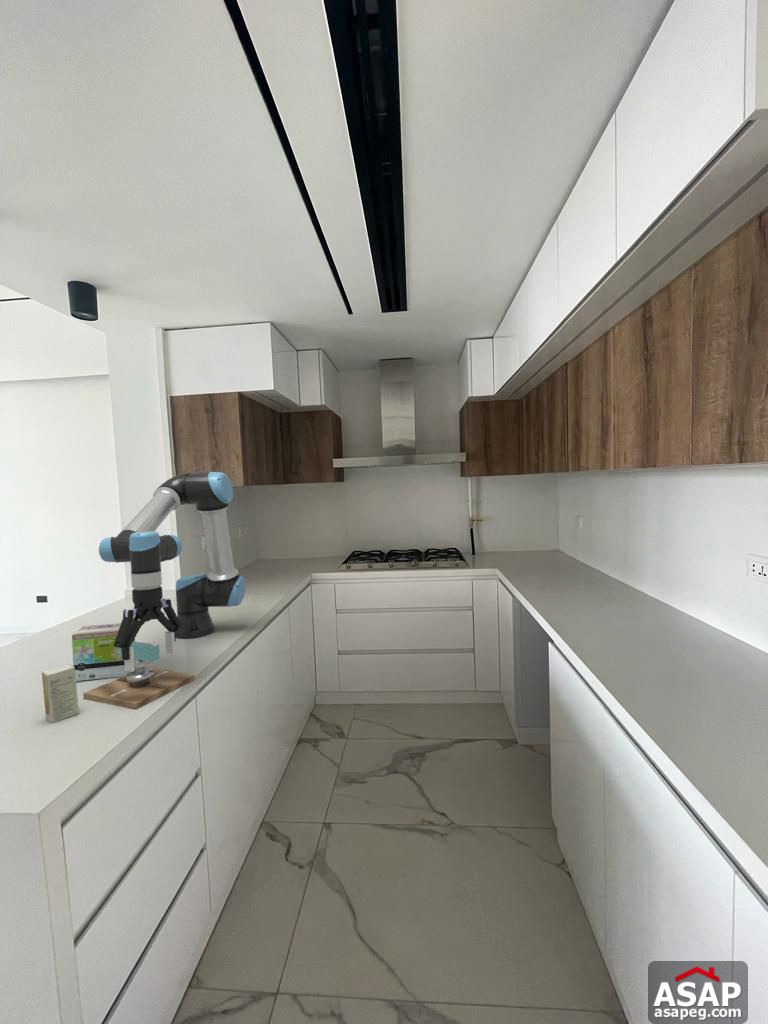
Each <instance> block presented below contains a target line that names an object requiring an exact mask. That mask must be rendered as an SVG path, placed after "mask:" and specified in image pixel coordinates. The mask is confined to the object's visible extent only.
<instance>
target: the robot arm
mask: <svg viewBox="0 0 768 1024" xmlns="http://www.w3.org/2000/svg"><path fill="white" fill-rule="evenodd" d="M233 488H234V487H233V484H232V482H231V479H230V478H229V476H228V475H227V474H225V473H224V472H221V471H218V472H217V471H216V472H215V471H202V472H183V473H179V474H177V475H175V476H173V477H171V478H169V479H167V480H165V481H164V482H163V483H161V484H160V485H159V486H158V487H157V488H156V489H155V490H154V492H153V493H152V498H151V499H150V500H149V501H148V502H147V503H146V505H144V507H142V509H141V510H139V512H137V514H136V515H135V516H134V517H133V518H132V519H131V520H130V521H129V523H128V524H127V525H126V526H125V527H124V528H123V529H122V530H121V531H120V533H118V535H116V536H110V537H104V538H103V539H102V540H101V541H100V543H99V545H98V554H99V556H100V558H101V560H102V561H104V562H106V563H117V564H118V563H130V576H131V577H130V578H131V587H132V588H133V589H132V590H131V594H132V597H131V598H132V602H133V608H131V609H124V610H123V612H122V614H123V615H122V620H121V625H120V628H119V631H118V634H117V637H116V639H115V642H114V647H118V648H121V650H122V659H123V660H124V663H125V671H130V672H133V671H135V667H134V652H133V647H130V646H131V644H132V642H133V640H134V639H135V640H136V637H137V636H138V633H139V631H140V629H141V627H142V626H143V625H144V624H145V623H148V622H150V621H151V620H157V621H158V622H159V623H160V624H161V625H162V626H163V627H164V628H165V629H166V631H165V634H164V636H165V639H164V640H165V654H166V655H172V656H173V655H175V654H176V647H175V645H176V644H175V643H176V641H177V640H176V639H177V638H178V639H193V638H200V636H201V637H204V636H207V634H208V635H209V633H210V634H212V633H214V631H215V624H214V622H213V620H212V617H211V614H210V612H209V611H210V610H209V608H210V607H211V608H212V607H213V608H215V607H216V608H218V607H220V608H223V607H228V608H230V607H236V606H239V605H241V604H242V602H243V600H244V598H245V594H246V588H247V584H246V583H247V582H246V581H247V580H246V578H245V577H244V576H242V575H240V572H239V570H238V569H237V568H235V566H234V560H233V552H232V545H231V538H230V533H229V524H228V517H227V510H228V508H229V507H230V504H231V502H232V501H233V498H234V495H233V494H234V489H233ZM182 505H195V507H196V511H197V512H198V513H200V514H201V516H202V517H201V518H202V524H203V529H204V536H205V543H206V550H207V555H208V559H209V560H208V561H209V567H210V572H209V573H208V574H207V573H204V572H203V573H196V574H191V575H186V576H183V577H180V578H178V579H176V582H175V589H174V590H175V597H176V598H175V599H176V601H175V602H176V612H175V610H174V608H173V605H172V600H171V599H170V598H169V599H167V598H163V597H164V596H163V587H162V584H163V580H162V577H163V576H162V564H161V563H162V562H165V561H171V560H173V559H175V558H177V557H179V556H180V555H181V553H182V551H183V543H182V541H181V538H179V537H178V536H177V535H174V534H163V535H160V534H159V532H158V531H156V530H157V529H158V527H159V526H161V524H162V523H163V522H164V521H165V519H166V518H167V517H168V516H169V515H170V513H171V512H172V511H175V510H177V509H178V508H179V507H180V506H182ZM162 609H163V611H164V612H163V611H162ZM165 615H166V616H165ZM211 632H212V633H211Z"/></svg>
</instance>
